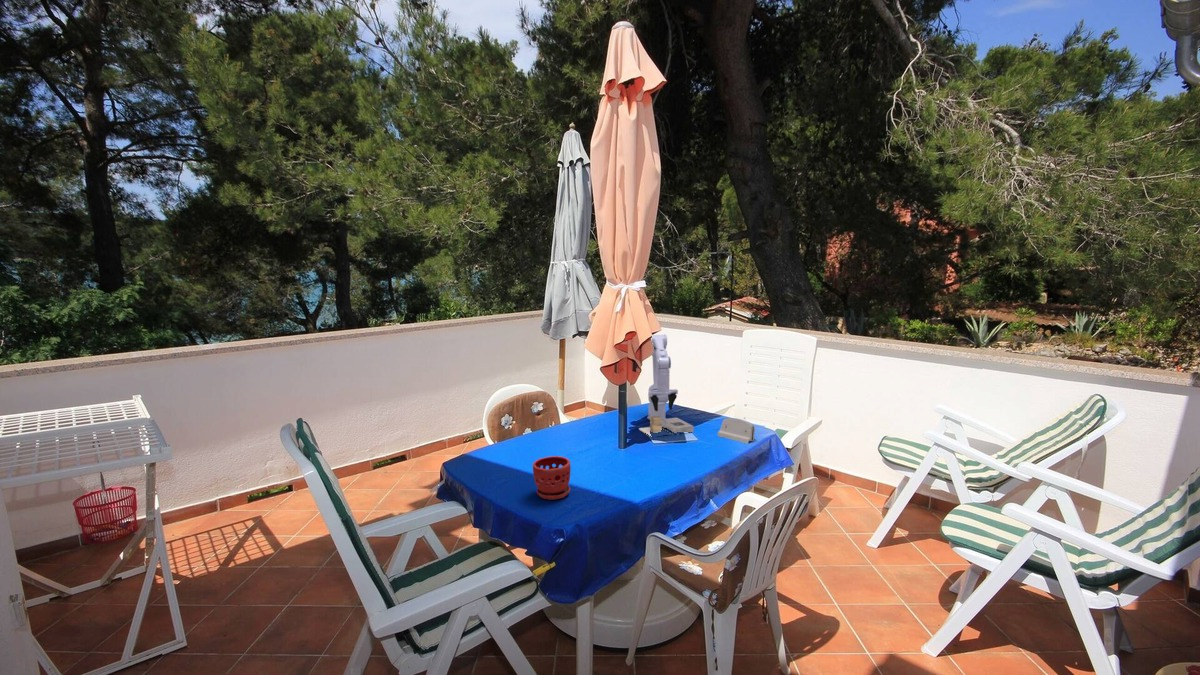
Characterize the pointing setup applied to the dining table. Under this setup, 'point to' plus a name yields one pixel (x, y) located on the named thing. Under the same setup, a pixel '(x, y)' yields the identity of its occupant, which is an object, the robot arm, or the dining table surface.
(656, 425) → the peg
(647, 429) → the pad
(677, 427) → the white frame
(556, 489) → the plant pot
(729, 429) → the hinge
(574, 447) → the dining table surface
